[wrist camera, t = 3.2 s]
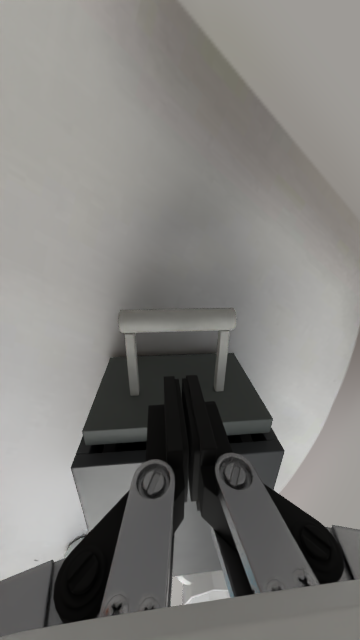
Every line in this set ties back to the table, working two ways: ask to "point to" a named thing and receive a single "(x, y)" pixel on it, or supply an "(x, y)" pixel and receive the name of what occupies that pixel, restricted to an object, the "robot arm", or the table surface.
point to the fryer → (194, 532)
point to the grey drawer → (148, 378)
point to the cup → (203, 587)
